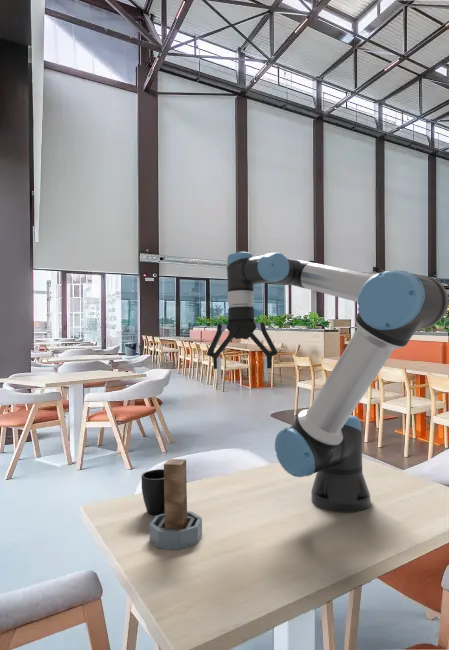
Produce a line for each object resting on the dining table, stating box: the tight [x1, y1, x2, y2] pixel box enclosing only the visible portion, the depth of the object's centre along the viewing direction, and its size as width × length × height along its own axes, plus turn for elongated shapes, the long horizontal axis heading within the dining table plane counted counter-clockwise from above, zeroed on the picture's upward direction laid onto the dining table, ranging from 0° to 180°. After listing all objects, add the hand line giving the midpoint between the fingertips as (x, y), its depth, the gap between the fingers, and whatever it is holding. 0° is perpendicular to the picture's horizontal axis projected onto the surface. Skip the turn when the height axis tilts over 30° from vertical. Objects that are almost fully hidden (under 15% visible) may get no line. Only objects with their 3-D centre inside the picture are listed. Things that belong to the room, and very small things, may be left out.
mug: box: [141, 468, 165, 517], centre depth 107 cm, size 8×12×10 cm
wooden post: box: [163, 458, 188, 529], centre depth 95 cm, size 4×4×16 cm
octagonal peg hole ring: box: [149, 510, 203, 551], centre depth 95 cm, size 11×11×4 cm
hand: (242, 380), depth 122 cm, fingers open, 13 cm apart
